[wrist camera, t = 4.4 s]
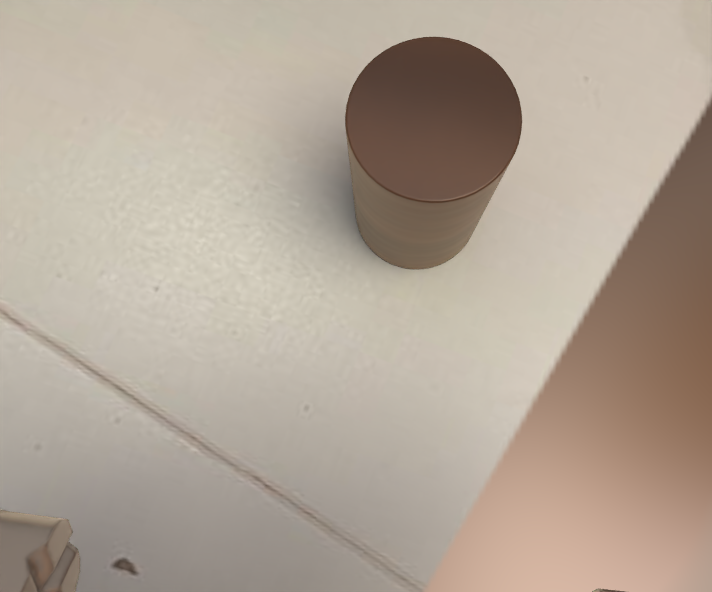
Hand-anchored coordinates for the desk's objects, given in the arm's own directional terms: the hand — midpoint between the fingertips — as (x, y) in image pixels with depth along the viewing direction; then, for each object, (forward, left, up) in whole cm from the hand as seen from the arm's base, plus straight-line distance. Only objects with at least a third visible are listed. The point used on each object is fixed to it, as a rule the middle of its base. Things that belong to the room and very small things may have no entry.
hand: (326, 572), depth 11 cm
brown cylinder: (+10, 0, -13) cm, 16 cm away
